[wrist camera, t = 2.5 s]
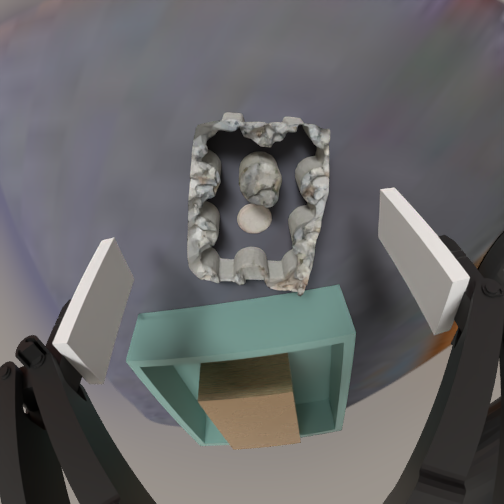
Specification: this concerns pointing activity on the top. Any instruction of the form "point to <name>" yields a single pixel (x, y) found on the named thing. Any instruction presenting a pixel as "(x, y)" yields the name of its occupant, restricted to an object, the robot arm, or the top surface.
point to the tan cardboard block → (251, 400)
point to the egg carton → (256, 205)
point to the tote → (250, 354)
